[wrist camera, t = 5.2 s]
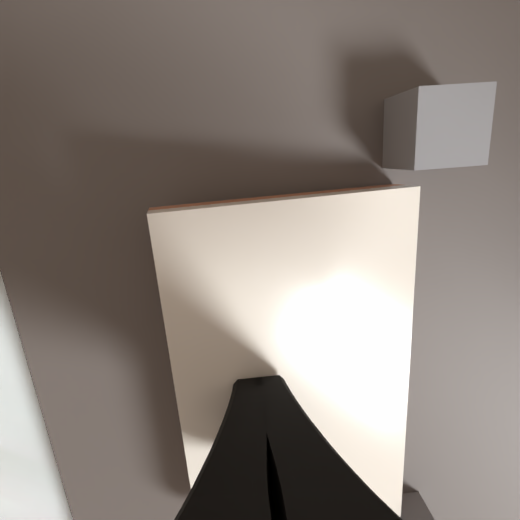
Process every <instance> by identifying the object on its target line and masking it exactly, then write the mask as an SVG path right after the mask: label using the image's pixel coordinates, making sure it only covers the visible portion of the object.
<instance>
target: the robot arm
mask: <svg viewBox="0 0 520 520" xmlns="http://www.w3.org/2000/svg"><path fill="white" fill-rule="evenodd" d="M174 520H402V519H401V518H400V517H399V516H398V515H397V514H396V513H395V512H394V511H393V510H392V509H391V508H390V507H389V506H388V505H387V504H386V503H385V502H384V501H383V500H381V499H380V498H379V497H378V496H377V495H376V494H375V493H374V492H373V491H372V490H371V489H370V488H369V487H368V485H367V484H366V483H365V482H364V481H363V480H362V479H361V478H360V477H359V476H358V475H357V474H356V473H355V472H354V471H353V470H352V468H351V467H350V466H349V465H348V464H347V463H346V462H345V461H344V460H343V458H342V457H341V456H340V455H339V454H338V453H337V452H336V450H335V449H334V448H333V447H332V446H331V445H330V443H329V442H328V441H327V440H326V438H325V437H324V436H323V435H322V433H321V432H320V431H319V430H318V428H317V427H316V426H315V425H314V423H313V422H312V421H311V419H310V418H309V417H308V415H307V414H306V413H305V411H304V410H303V409H302V407H301V406H300V404H299V403H298V401H297V400H296V398H295V397H294V395H293V394H292V392H291V391H290V389H289V387H288V386H287V384H286V382H285V380H284V379H283V378H282V377H281V376H280V375H274V376H265V377H255V378H246V379H237V381H236V382H235V383H234V384H233V388H232V393H231V397H230V400H229V404H228V407H227V410H226V412H225V415H224V418H223V421H222V423H221V426H220V428H219V431H218V433H217V435H216V438H215V440H214V443H213V445H212V447H211V450H210V452H209V454H208V456H207V458H206V460H205V462H204V464H203V466H202V468H201V470H200V472H199V474H198V476H197V478H196V480H195V482H194V484H193V486H192V488H191V490H190V492H189V494H188V496H187V498H186V499H185V501H184V503H183V505H182V507H181V509H180V510H179V512H178V514H177V516H176V517H175V519H174Z"/></svg>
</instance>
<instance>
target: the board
mask: <svg viewBox="0 0 520 520" xmlns="http://www.w3.org/2000/svg"><path fill="white" fill-rule="evenodd" d="M386 184H402V185H413V186H420V203H419V220H418V237H417V253H416V270H415V287H414V304H413V320H412V337H411V354H410V371H409V388H408V404H407V421H406V438H405V455H404V471H403V488H402V505H401V517H400V518H401V519H402V520H520V0H0V271H1V274H2V277H3V281H4V284H5V288H6V291H7V295H8V298H9V301H10V305H11V308H12V312H13V315H14V318H15V322H16V325H17V329H18V332H19V336H20V339H21V342H22V346H23V349H24V353H25V356H26V360H27V363H28V366H29V370H30V373H31V377H32V380H33V384H34V387H35V390H36V394H37V397H38V401H39V404H40V408H41V411H42V414H43V418H44V421H45V425H46V428H47V432H48V435H49V438H50V442H51V445H52V449H53V452H54V456H55V459H56V462H57V466H58V469H59V473H60V476H61V479H62V483H63V486H64V490H65V493H66V497H67V500H68V503H69V507H70V510H71V514H72V517H73V520H174V519H175V517H176V516H177V514H178V512H179V510H180V509H181V507H182V505H183V503H184V501H185V499H186V498H187V496H188V494H189V492H190V490H191V487H190V481H189V475H188V468H187V462H186V456H185V450H184V443H183V437H182V431H181V425H180V419H179V412H178V406H177V400H176V394H175V387H174V381H173V375H172V369H171V362H170V356H169V350H168V344H167V337H166V331H165V325H164V319H163V313H162V306H161V300H160V294H159V288H158V281H157V275H156V269H155V263H154V256H153V250H152V244H151V238H150V231H149V225H148V219H147V212H148V210H149V208H151V207H161V206H171V205H181V204H192V203H202V202H212V201H222V200H233V199H243V198H253V197H263V196H273V195H284V194H294V193H304V192H314V191H325V190H335V189H345V188H355V187H366V186H376V185H386Z"/></svg>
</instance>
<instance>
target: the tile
mask: <svg viewBox="0 0 520 520" xmlns="http://www.w3.org/2000/svg"><path fill="white" fill-rule="evenodd" d="M419 203H420V186H413V185H402V184H386V185H376V186H366V187H355V188H345V189H335V190H325V191H314V192H304V193H294V194H284V195H273V196H263V197H253V198H243V199H233V200H222V201H212V202H202V203H192V204H181V205H171V206H161V207H151V208H149V210H148V212H147V219H148V225H149V231H150V238H151V244H152V250H153V256H154V263H155V269H156V275H157V281H158V288H159V294H160V300H161V306H162V313H163V319H164V325H165V331H166V337H167V344H168V350H169V356H170V362H171V369H172V375H173V381H174V387H175V394H176V400H177V406H178V412H179V419H180V425H181V431H182V437H183V443H184V450H185V456H186V462H187V468H188V475H189V481H190V487H191V488H192V486H193V484H194V482H195V480H196V478H197V476H198V474H199V472H200V470H201V468H202V466H203V464H204V462H205V460H206V458H207V456H208V454H209V452H210V450H211V447H212V445H213V443H214V440H215V438H216V435H217V433H218V431H219V428H220V426H221V423H222V421H223V418H224V415H225V412H226V410H227V407H228V404H229V400H230V397H231V393H232V388H233V384H234V383H235V382H236V381H237V379H246V378H255V377H265V376H274V375H280V376H281V377H282V378H283V379H284V380H285V382H286V384H287V386H288V387H289V389H290V391H291V392H292V394H293V395H294V397H295V398H296V400H297V401H298V403H299V404H300V406H301V407H302V409H303V410H304V411H305V413H306V414H307V415H308V417H309V418H310V419H311V421H312V422H313V423H314V425H315V426H316V427H317V428H318V430H319V431H320V432H321V433H322V435H323V436H324V437H325V438H326V440H327V441H328V442H329V443H330V445H331V446H332V447H333V448H334V449H335V450H336V452H337V453H338V454H339V455H340V456H341V457H342V458H343V460H344V461H345V462H346V463H347V464H348V465H349V466H350V467H351V468H352V470H353V471H354V472H355V473H356V474H357V475H358V476H359V477H360V478H361V479H362V480H363V481H364V482H365V483H366V484H367V485H368V487H369V488H370V489H371V490H372V491H373V492H374V493H375V494H376V495H377V496H378V497H379V498H380V499H381V500H383V501H384V502H385V503H386V504H387V505H388V506H389V507H390V508H391V509H392V510H393V511H394V512H395V513H396V514H397V515H398V516H399V517H401V505H402V488H403V471H404V455H405V438H406V421H407V404H408V388H409V371H410V354H411V337H412V320H413V304H414V287H415V270H416V253H417V237H418V220H419Z"/></svg>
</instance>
